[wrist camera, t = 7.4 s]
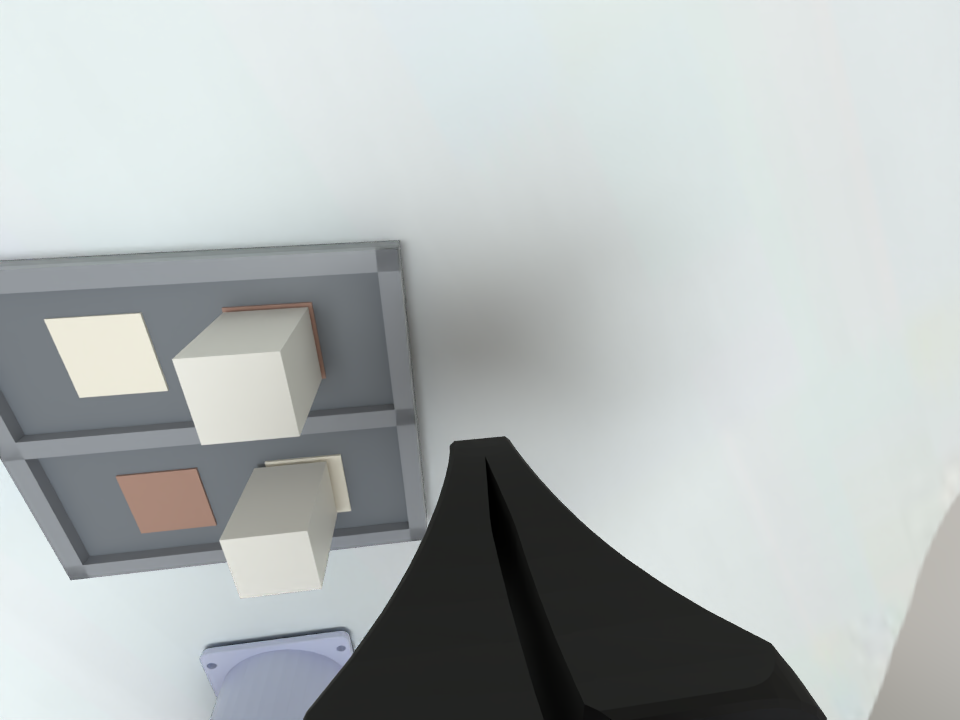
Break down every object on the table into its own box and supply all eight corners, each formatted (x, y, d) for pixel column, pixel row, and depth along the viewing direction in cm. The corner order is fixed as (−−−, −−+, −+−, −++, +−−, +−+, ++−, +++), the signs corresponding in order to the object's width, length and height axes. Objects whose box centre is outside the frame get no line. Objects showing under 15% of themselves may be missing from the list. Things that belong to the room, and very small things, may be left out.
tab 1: (321, 378, 19) (299, 436, 15) (243, 384, 18) (201, 445, 15) (307, 306, 17) (280, 351, 14) (223, 312, 17) (171, 359, 13)
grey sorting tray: (426, 516, 24) (427, 539, 23) (91, 553, 22) (70, 580, 21) (399, 240, 18) (397, 248, 17) (-63, 264, 16) (-106, 275, 15)
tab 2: (337, 513, 22) (321, 588, 18) (269, 521, 21) (240, 598, 18) (326, 461, 20) (307, 530, 17) (254, 468, 20) (219, 540, 16)
